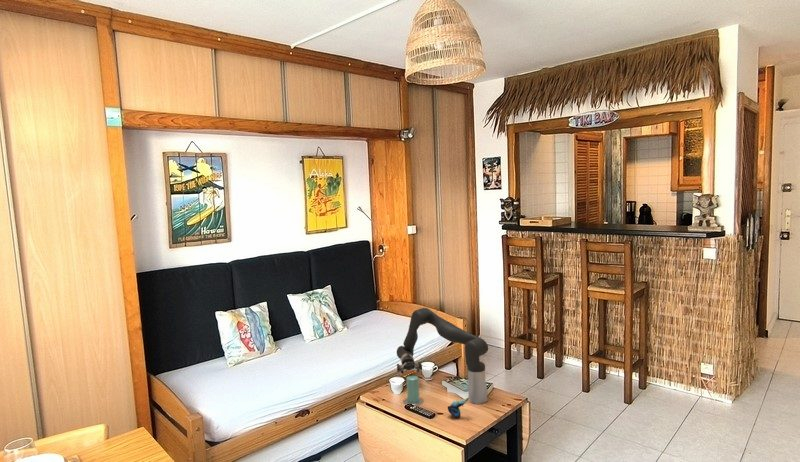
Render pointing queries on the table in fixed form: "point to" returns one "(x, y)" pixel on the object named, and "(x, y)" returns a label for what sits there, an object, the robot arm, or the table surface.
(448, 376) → the table surface
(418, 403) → the slate plate
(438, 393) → the table surface
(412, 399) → the green cylinder
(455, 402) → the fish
